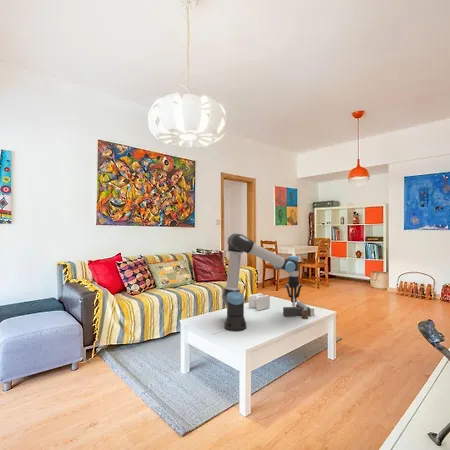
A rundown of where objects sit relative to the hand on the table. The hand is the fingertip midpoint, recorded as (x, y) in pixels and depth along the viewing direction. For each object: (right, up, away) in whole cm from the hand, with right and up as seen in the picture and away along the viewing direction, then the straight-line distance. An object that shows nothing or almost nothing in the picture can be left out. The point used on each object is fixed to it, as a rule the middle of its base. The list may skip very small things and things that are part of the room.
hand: (293, 306), depth 220 cm
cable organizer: (-24, -8, +21) cm, 33 cm away
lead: (+4, -8, +2) cm, 9 cm away
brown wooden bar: (+7, -8, +2) cm, 11 cm away
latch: (+7, -1, +2) cm, 7 cm away
